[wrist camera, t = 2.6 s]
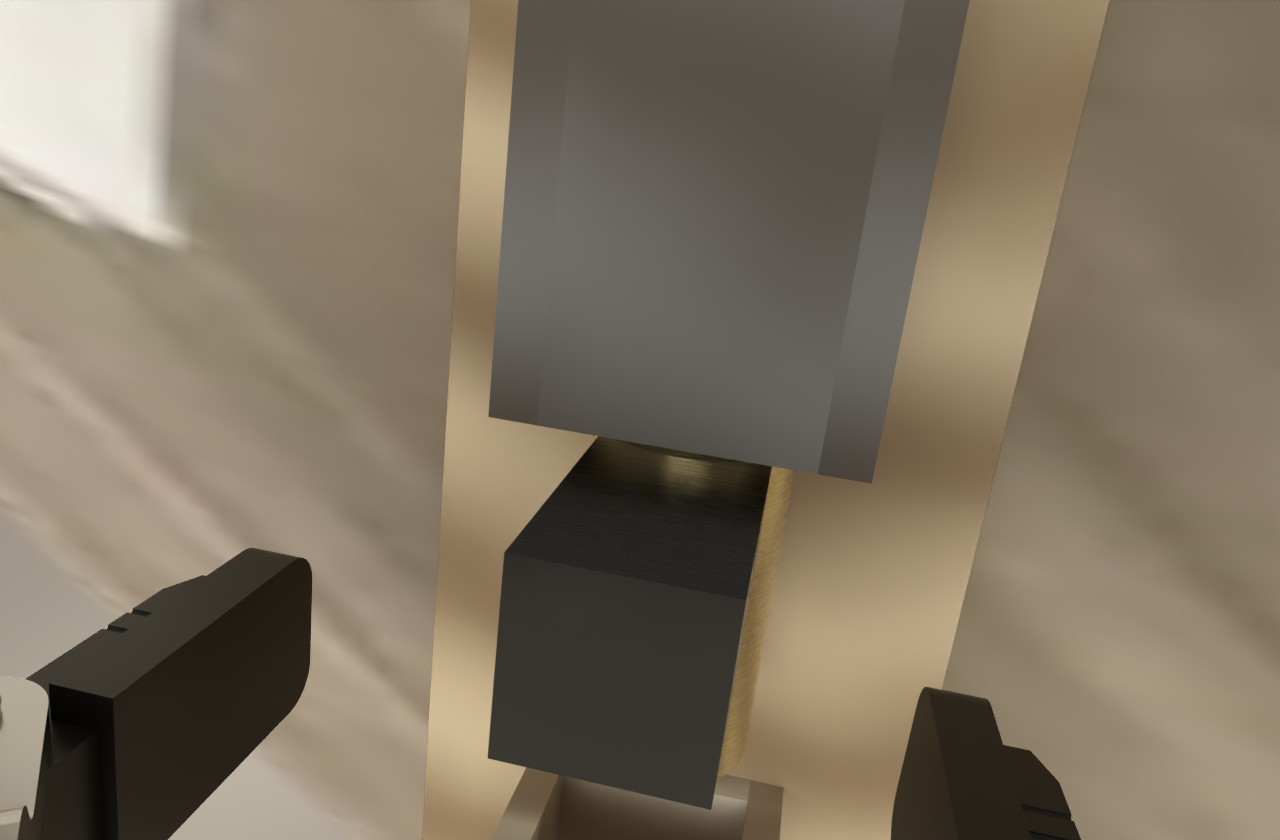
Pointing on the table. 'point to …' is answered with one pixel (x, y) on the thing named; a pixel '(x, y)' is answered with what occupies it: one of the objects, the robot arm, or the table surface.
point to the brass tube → (638, 620)
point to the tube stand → (748, 348)
